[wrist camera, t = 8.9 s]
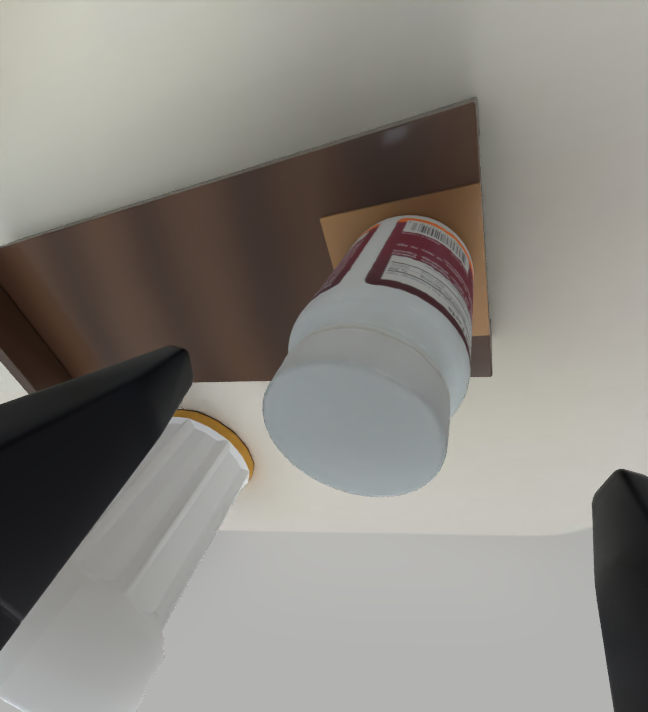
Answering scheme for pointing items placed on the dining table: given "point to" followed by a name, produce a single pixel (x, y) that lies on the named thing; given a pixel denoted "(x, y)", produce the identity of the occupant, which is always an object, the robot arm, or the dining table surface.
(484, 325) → the shelf
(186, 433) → the cup
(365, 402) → the pill bottle
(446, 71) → the dining table surface
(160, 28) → the dining table surface
